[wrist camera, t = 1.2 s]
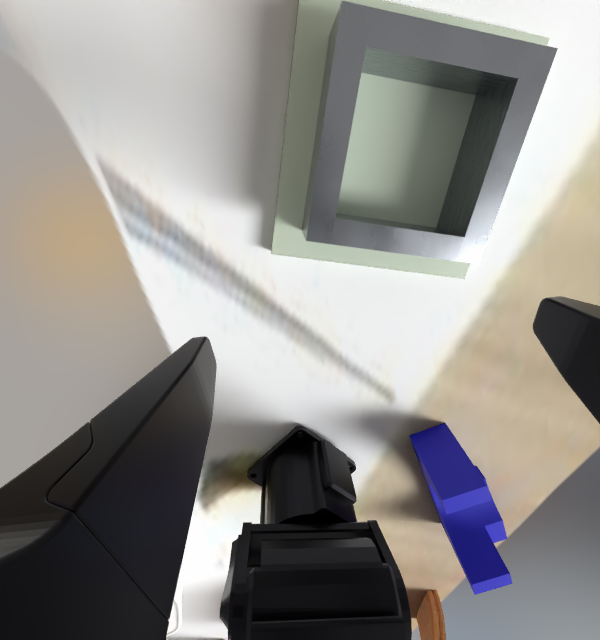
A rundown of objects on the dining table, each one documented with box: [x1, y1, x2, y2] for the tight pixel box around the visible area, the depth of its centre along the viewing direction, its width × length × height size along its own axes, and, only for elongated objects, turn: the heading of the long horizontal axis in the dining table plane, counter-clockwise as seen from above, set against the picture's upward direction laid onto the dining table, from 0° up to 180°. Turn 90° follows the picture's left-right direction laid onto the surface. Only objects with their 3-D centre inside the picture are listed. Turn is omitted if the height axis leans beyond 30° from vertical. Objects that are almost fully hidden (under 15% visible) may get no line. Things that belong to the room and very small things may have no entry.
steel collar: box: [302, 1, 558, 264], centre depth 16 cm, size 9×9×3 cm
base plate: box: [271, 0, 549, 279], centre depth 18 cm, size 12×12×1 cm
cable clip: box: [409, 423, 512, 594], centre depth 26 cm, size 12×4×6 cm, turn 22°
